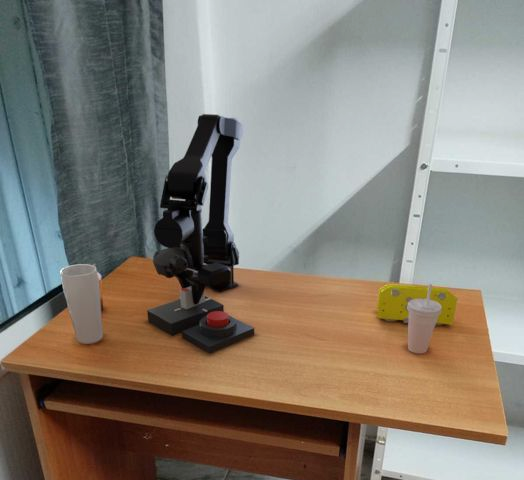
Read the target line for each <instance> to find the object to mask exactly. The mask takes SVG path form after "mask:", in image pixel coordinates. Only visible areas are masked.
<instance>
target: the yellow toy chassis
mask: <svg viewBox="0 0 524 480" xmlns="http://www.w3.org/2000/svg"><path fill="white" fill-rule="evenodd" d="M428 288H429V286H423V285H421V286H420V285H419V286H418V285H408V284H397V283H387V284H386V285H383V286H382V287H380V288H379V289H378V296H377V306H376V310H377V313H376V319H384V320H385V321H387V322H397V321H403V323H404V324H408V320H409V310H408V309H407V306H408V302H409V301H411V300H413V299H427V294H428ZM430 300H433V301H435V302H437V303H439V304H440V305H441V306H442V309H441V313H440V314H439V315H438V318H437V321H436V324H435V326H442V325H453V324H454V323H453V322H454V318H455V314H456V308H457V305H458V304H457V303H458V297H457V296H456V295H454V293H452V292H451V291H450V290H449V289H448V288H446V287H436V286H435V287H434V286H432V289H431V295H430Z"/></svg>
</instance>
